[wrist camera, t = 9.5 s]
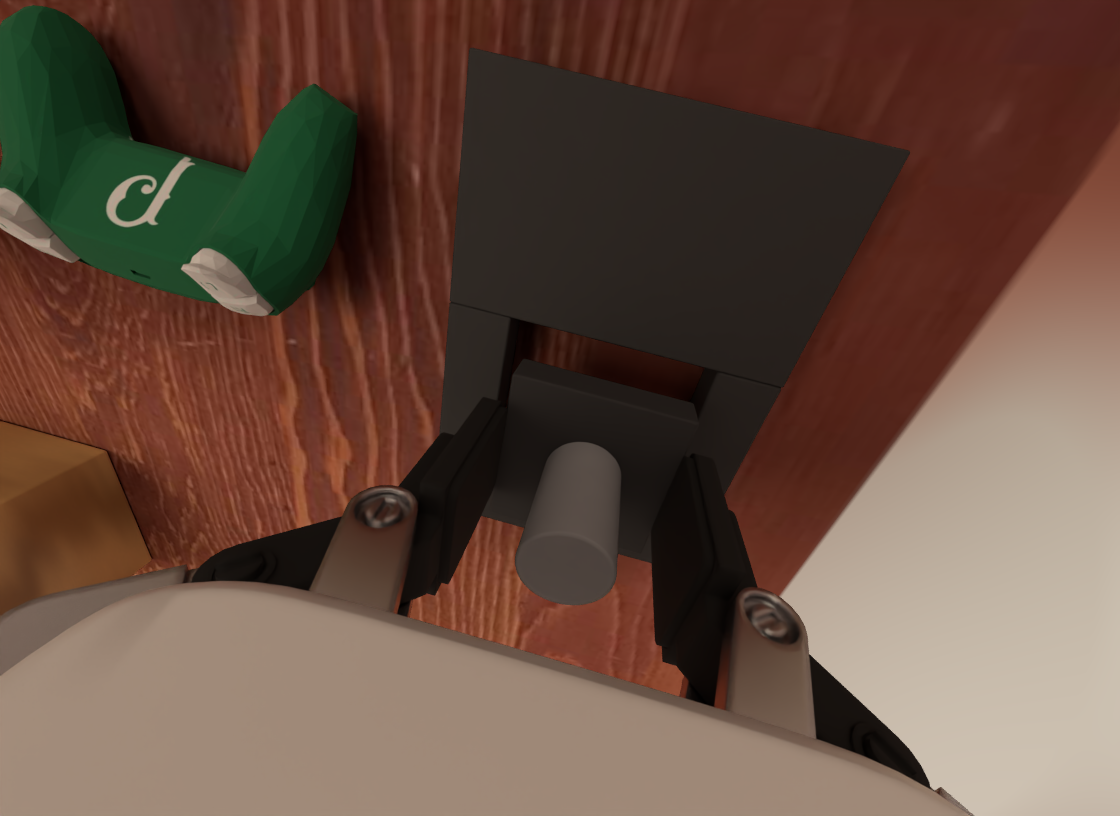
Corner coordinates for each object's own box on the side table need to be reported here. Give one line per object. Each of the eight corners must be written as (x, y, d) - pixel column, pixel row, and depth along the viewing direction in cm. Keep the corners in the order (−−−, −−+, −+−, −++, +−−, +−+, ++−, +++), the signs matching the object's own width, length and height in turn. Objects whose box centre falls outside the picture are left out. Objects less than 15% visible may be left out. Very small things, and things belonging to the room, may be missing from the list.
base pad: (488, 63, 11) (468, 46, 9) (876, 155, 10) (912, 150, 9) (448, 479, 17) (433, 503, 16) (679, 543, 17) (683, 572, 16)
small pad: (523, 357, 12) (463, 446, 8) (694, 402, 12) (727, 519, 7) (499, 489, 14) (443, 610, 10) (640, 528, 14) (642, 668, 10)
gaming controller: (145, 118, 14) (40, 264, 13) (9, -20, 11) (-162, 161, 9) (400, 192, 14) (324, 348, 13) (352, 78, 10) (237, 279, 9)
